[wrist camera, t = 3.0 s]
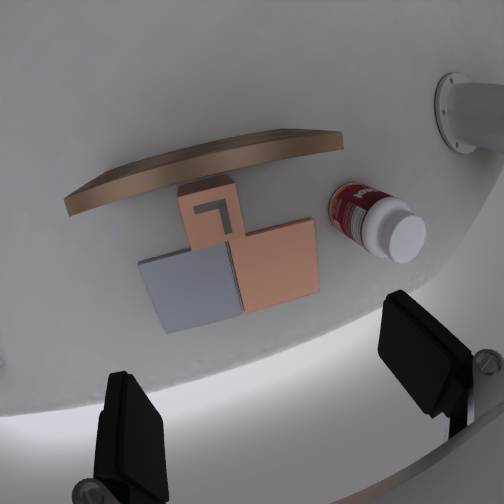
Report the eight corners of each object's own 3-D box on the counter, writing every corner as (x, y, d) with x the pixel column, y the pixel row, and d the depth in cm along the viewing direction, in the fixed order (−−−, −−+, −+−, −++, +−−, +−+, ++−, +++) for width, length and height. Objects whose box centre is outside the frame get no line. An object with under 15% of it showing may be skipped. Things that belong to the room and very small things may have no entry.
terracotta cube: (226, 174, 29) (235, 183, 24) (235, 220, 31) (246, 237, 26) (177, 186, 28) (177, 198, 24) (189, 232, 30) (191, 251, 26)
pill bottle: (374, 183, 33) (438, 210, 23) (365, 231, 35) (422, 269, 26) (331, 178, 31) (392, 204, 22) (322, 230, 34) (376, 273, 24)
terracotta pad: (310, 217, 33) (313, 219, 32) (316, 288, 37) (319, 291, 36) (227, 238, 32) (228, 241, 31) (244, 309, 36) (245, 313, 35)
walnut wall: (282, 128, 28) (341, 131, 17) (284, 139, 29) (343, 149, 18) (107, 170, 26) (63, 198, 15) (110, 182, 26) (69, 216, 16)
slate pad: (223, 239, 31) (224, 242, 31) (241, 310, 36) (242, 314, 35) (138, 262, 30) (137, 265, 29) (166, 330, 34) (166, 334, 34)
